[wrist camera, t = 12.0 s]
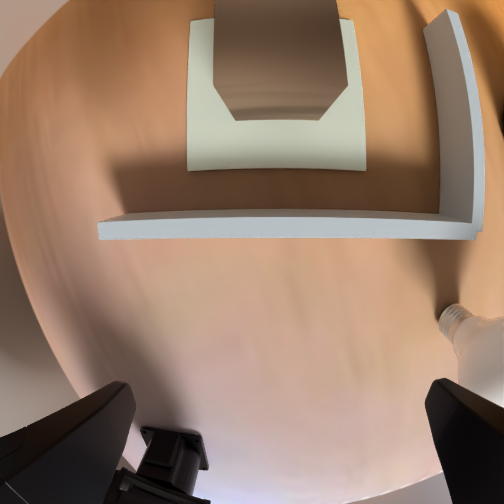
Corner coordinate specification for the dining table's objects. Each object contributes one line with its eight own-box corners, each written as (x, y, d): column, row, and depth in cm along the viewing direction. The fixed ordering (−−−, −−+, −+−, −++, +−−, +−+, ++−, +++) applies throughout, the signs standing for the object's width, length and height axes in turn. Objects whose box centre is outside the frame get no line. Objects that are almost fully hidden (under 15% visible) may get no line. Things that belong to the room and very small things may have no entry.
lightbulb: (412, 295, 18) (500, 384, 8) (474, 267, 17) (569, 325, 7) (417, 359, 20) (476, 452, 9) (474, 331, 19) (544, 401, 8)
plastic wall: (448, 228, 17) (480, 240, 13) (129, 227, 18) (99, 239, 15) (432, 33, 13) (457, 13, 9) (135, 26, 15) (111, 3, 11)
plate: (364, 171, 17) (366, 170, 16) (189, 171, 17) (187, 171, 17) (351, 23, 14) (352, 20, 13) (192, 23, 15) (190, 21, 14)
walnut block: (318, 120, 16) (348, 85, 9) (235, 121, 16) (213, 85, 9) (313, 50, 14) (334, -10, 8) (234, 50, 15) (215, -10, 8)
